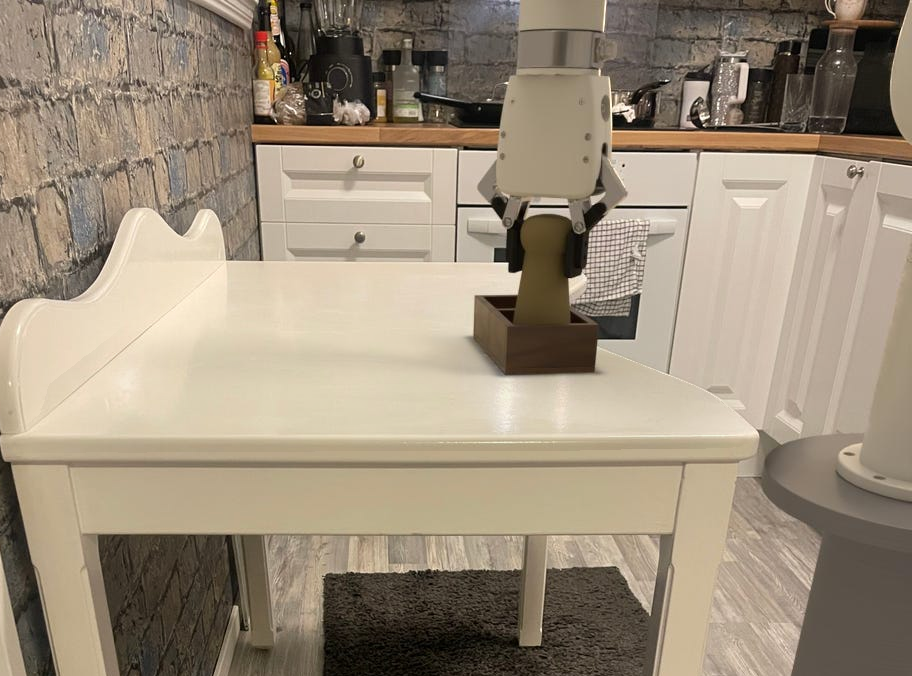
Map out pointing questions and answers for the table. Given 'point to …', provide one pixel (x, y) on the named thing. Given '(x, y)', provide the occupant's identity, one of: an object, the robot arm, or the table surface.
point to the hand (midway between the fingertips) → (544, 271)
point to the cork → (543, 271)
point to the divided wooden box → (533, 339)
